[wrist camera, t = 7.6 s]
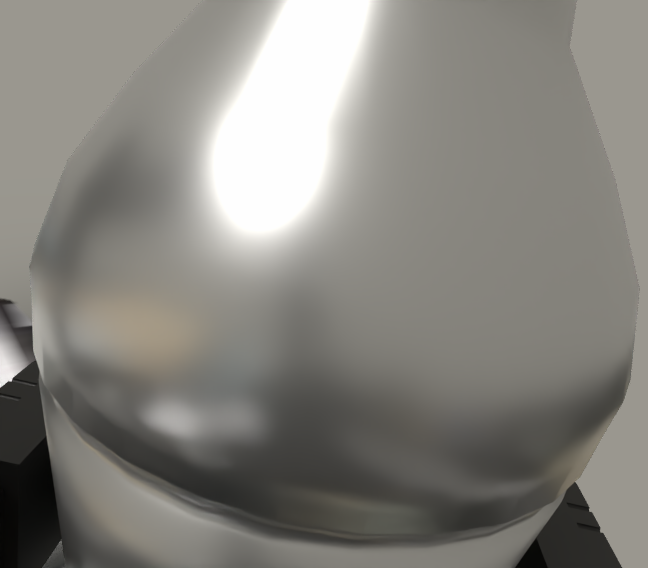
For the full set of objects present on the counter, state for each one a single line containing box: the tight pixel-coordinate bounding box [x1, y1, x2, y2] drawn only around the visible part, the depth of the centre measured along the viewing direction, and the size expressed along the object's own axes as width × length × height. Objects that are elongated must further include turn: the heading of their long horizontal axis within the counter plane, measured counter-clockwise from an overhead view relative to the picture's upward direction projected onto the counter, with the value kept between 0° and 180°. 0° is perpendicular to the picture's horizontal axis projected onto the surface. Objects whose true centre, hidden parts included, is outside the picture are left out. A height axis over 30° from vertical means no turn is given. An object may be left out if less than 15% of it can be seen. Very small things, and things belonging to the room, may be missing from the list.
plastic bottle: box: [29, 0, 640, 568], centre depth 8 cm, size 6×7×20 cm
